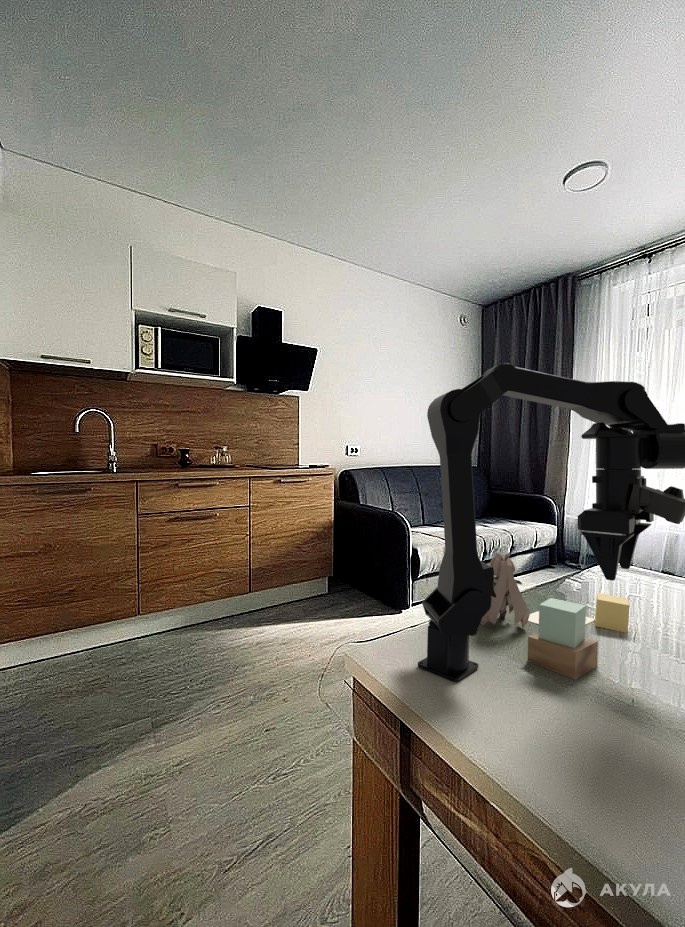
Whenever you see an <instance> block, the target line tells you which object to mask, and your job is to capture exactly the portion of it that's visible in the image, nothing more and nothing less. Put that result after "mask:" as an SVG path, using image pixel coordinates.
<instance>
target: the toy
mask: <svg viewBox="0 0 685 927" xmlns="http://www.w3.org/2000/svg"><path fill="white" fill-rule="evenodd" d="M510 557H511V552H507V554H505V553H502V552H500V553H497V552H496V553H495V554H494V555H493V557H492V559H491V560H490V563H489V566H491V567H493V570H494V579H493V588H494V592H495V594H496V598H494V597H492V596H491V597H492V604H491V608H490V611H488V612H487V613H486V614H485V615H484V617H482V620H481V622H480V625H481V626H482V627H483V626H485V625H486V623H487V622H488V621H489V622H491V623H492V624H493V625H496V622H497V619H498V618H499V619H506V615H507V613H509V614H511V613H512V611H513V612H514V626H516V625H517V624H518V623H519V622H521V628H522V629H524V627H525V626H526V624H527V623H528V619H529V616H530V615H529V614H530V610H529V608H528V606H527V604H526V601H525V599H524V597H523V596H522V593H521V590H520V589H519V587H518V585H520V586H522V585H523V583H522V581H520V580H518V579H515V577H514V573H515V572H516V567H515V565H514V563H513V561H512V560H511V558H510ZM507 607H508V612H507Z"/></svg>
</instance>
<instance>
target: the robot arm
mask: <svg viewBox="0 0 685 927" xmlns="http://www.w3.org/2000/svg"><path fill="white" fill-rule="evenodd" d="M645 389H646V388H645V386H644V385H643V384H641V383H639V382H636V381H617V380H616V381H615V380H614V381H613V380H612V381H592V382H591V381H583V380H578V379H573V378H570V377H565V376H561V375H555V374H550V373H546V372H541V371H536V370H533V369H529V368H528V369H527V368H522V367H518V366H515V365H513V364H511V363H509V362H502V363H499V364H497V365H495V366H493V367H491V368H489V369H487V371H485V372H484V373H483V374H482V375H481V376H479V377H478V378H476V379H475V380H474V381H472V382H470V383H469V384H467V385H465V386H464V387H463V388H456V389H452V390H450V391H447V392H446V393H443V394H442V395H440V396H438V397H435V398H434V399H433V400H432V401H431V402H430V404H429V406H428V408H427V413H426V414H427V415H426V416H427V417H426V418H427V421H428V426H429V429H430V435H431V438H432V440H433V442H434V445H435V448H436V450H437V452H438V454H439V455H438V456H439V464H440V465H439V466H440V485H441V497H442V517H443V518H442V519H443V532H444V534H443V535H444V536H443V537H444V554H443V557H442V559H441V562H440V566H439V569H438V570H439V571H438V581H437V587H436V588H435V589H434V590H432V592H431V593H430V594H429V595H428V596H426V598H424V599H423V600H422V602H421V603H422V604H421V605H422V607H423V610H424V612H425V616H427V617H429V621H428V626H427V645H426V646H427V647H426V657H424V658H423V659H421V660H419V661H418V662H417V667H419V668H421V669H423V670H426V671H428V672H431V673H433V674H436V675H439V676H441V677H443V678H445V679H449V680H451V681H454V682H460V681H461V680H462V679H464V678H465V677H466V676H468V675H470V674H471V673H472V672H474V671H476V670H477V669H479V663H477V662H474V661H473V660H469V658H470V636H472V637H473V636H474V637H475V636H476V634H477V632H478V630H479V627H480V625H481V623H480V622H481V620H482V617H484V615H485V614H486V613H487V612H488V611H490V608H491V604H492V597H494V598H496V594H495V592H494V588H493V579H494V577H495V575H494V570H493V567H491V566H490V564H487V563H485V562H484V561H482V560H481V559H480V555H479V552H478V542H477V541H478V540H477V525H476V507H475V505H476V504H475V491H474V487H475V486H474V474H473V459H472V458H473V450H474V446H475V444H476V441H477V438H478V435H479V431H480V421H481V412H483V411H484V410H486V409H487V408H488V407H490V406H491V405H493V404H494V403H495V402H496V401H498V400H499V399H500V398H501V397H502V396H506V397H510V398H514V399H519V400H524V401H529V402H533V403H538V404H544V405H548V406H552V407H556V408H557V407H558V408H562V409H566V410H570V411H573V412H575V413H576V414H578V415H579V416H580V417H581V418H583V419H585V420H588V421H590V422H592V425H591V427H589V429H587V430H586V431H585V432H583V433H582V434H581V436H580V437H581V439H583V440H595V475H593V476H592V477H591V482H592V484H595V502H593V503H592V505H591V506H592V507H591V508H588V509H584V510H583V511H582V512H581V513H580V514H579V515H577V530H579V531H580V534H581V536H583V537H584V539H585V541H586V542H587V544H588V546H589V548H590V550H591V552H592V553H593V556H594V557H595V560H596V561H597V564H598V566H599V568H600V570H601V572H602V574H603V577H604V578H605V580H607V581H613V582H614V581H615V580H616V577H617V573H618V569H619V568H618V567H619V566H620V568H621V569H624V570H629V569H630V568H631V565H632V561H633V557H634V553H635V549H636V546H637V542H638V539H639V536H640V534H642V533H643V532H644V531H645V530H647V529H648V528H650V527H651V526H652V522H654V521H655V520H654V519H655V518H654V517H655V516H657V517H660V518H663V519H664V520H665V521H667V522H669V523H673V524H677V525H680V524H681V523H682V522H683V521H684V519H685V496H684V489H681V488H679V487H675V486H672V485H671V486H669V487H667V488H665V490H663V491H662V490H660V489H656V488H653V487H650V486H647V478H646V477H645V476H644V475H642V469H645V470H646V469H647V470H652V469H653V470H659V469H662V470H663V469H665V470H668V469H670V470H671V469H673V470H674V469H676V470H677V469H679V470H680V469H681V470H682V469H683V470H684V469H685V423H681V422H680V423H678V422H677V423H670V424H669V423H667V422H666V420H665V419H664V417H663V416H662V414H661V413H660V411H659V410H658V408H657V407H656V405H655V404H654V403H653V401H652V400H651V399H650V397H649V395H648V393H647V391H646V390H645ZM654 515H655V516H654ZM642 521H646V523H645V522H642ZM491 596H492V597H491Z"/></svg>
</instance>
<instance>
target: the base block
mask: <svg viewBox="0 0 685 927" xmlns="http://www.w3.org/2000/svg"><path fill="white" fill-rule="evenodd" d="M538 635H539V631H538V632H534V633H532V634H531V635H530V634H529V635H528V636H527V662H529V661H530V662H529V663H532V664H534V665H538V666H540V667H542V668H544V669H547V670H550V671H552V672H555V673H557V672H558V673H557V674H560V675H562V674H563V676H565V677H567V676H568V678H570V677H571V678H570V679H573V678H574V679H573V680H576V679H578V678H580V677H582V676H583V675H585V674H587V673H588V672H587V671H589V670H590V671H592V670H594V669H595V668H597V667H598V653H599V652H598V651H599V649H598V648H599V646H598V645H599V640H595V639H591V638H588V637H586V636H585V639H584V640H583V641H582V642H581V643H580V644H579V645H578V646H577V647H576V648H572V647H568V646H565V645H561V644H558V643H554V642H551V641H547V640H544V639H540V638H538ZM596 666H597V667H596ZM594 667H595V668H594ZM593 668H594V669H593ZM591 669H592V670H591ZM590 671H589V672H590ZM586 672H587V673H586ZM584 673H585V674H584ZM581 675H582V676H581ZM579 676H580V677H579ZM577 677H578V678H577Z"/></svg>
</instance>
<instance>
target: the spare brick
mask: <svg viewBox="0 0 685 927" xmlns="http://www.w3.org/2000/svg"><path fill="white" fill-rule="evenodd" d="M595 600H596V601H595V613H594V619H595V621H594V622H595V623H594V625H595V626H594V627H597V628H602V629H607V630H612V631H617V632H621V633H628V629H629V617H630V603H629V599H628V598H627V597H622V596H616V595H612V594H605V593H600V592H596V599H595Z"/></svg>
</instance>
